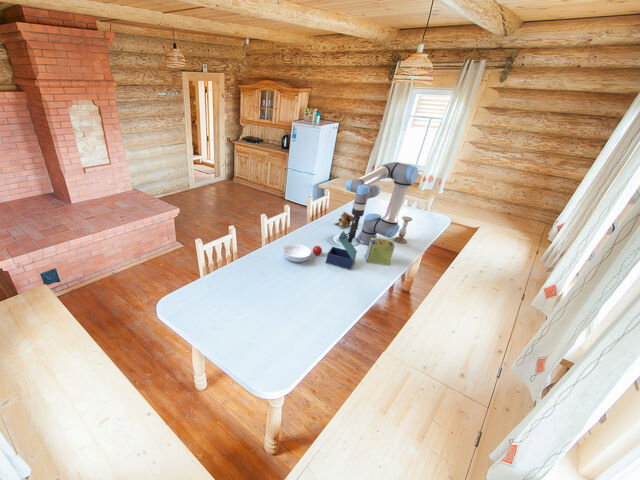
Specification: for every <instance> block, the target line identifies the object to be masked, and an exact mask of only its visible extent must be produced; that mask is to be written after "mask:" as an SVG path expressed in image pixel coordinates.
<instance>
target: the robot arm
mask: <svg viewBox="0 0 640 480" xmlns="http://www.w3.org/2000/svg"><path fill="white" fill-rule="evenodd" d="M418 177H419V169H418V167H417V166H414V165H412V164H406V163H401V162H398V161H393V162H388V163H384V164H382V165H379V166H378V167H377V169H375V170H373V171H371V172H369V173H367V174H365V175H363V176H361V177H359V178H357V179H355V180H354V179H348V180H347V181H346V183H345V190H346V191H348V192H350V193H354V194H355V196H354V201H353V202H352V205H353V206H352V210H351V215H352V216H353V220H352V221H351V225H350V229H349V231H348V233H349V234H348V235H349V236H348V242H350V243H352V244H353V239H355V238H356V240H357V242H358V243H360V244H363V245H366V246H368V245H369V242H370V238H377V237H378V235H380V236H382V237H385V238H387V239H391V238H393V237H395V235H397V233H399V231H400V225H399V220H398V217H399V215H400V211H401V209H402V207H403V206H402V205H403V203H404V200H405V198H406V197H405V196H406V194H407V191H408V188H410V187H411V186H412V185H414V184H415V183H416V181H417V180H418ZM385 179H392V180H393V184H394V187H393V190H392V192H391V193H392V194H391V197H390V200H389V203H388V206H387V208H386V212H385V215H384V216H383V217H382V215H381V214H378V213H367V214H366V215H365V217H364V219H363V222H362V228H361V231H360V233H359V234H358V235H357V237H356V234H357V231H358V230H359V228H358V227H359V224H360V223H359V222H360V219H361V217H363V216H364V214H365V210H366V206H367V202H368V200H369V199H372V198H375V197H378V196H379V195H380V193H381V188H380V186H379V185H377V184H375V183H376V182H378V181H381V180H385ZM377 234H378V235H377ZM377 239H378V238H377Z"/></svg>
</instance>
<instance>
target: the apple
mask: <svg viewBox="0 0 640 480" xmlns="http://www.w3.org/2000/svg"><path fill="white" fill-rule="evenodd" d="M311 252H312V253H313V255H315V256H320V255H322V252H323V249H322V247H321V246H320V245H315V246H314V247H313V248H312V251H311Z"/></svg>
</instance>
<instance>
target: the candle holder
mask: <svg viewBox="0 0 640 480" xmlns="http://www.w3.org/2000/svg"><path fill="white" fill-rule="evenodd" d="M401 220H403V222H402V227H401V228H399V230H398V236H396V237H394V241H395V242H396V243H398V244H399V243H400V244H405V243H406V241H407V240H406V238H405V236H406V234H407V226H408V225H409V222H412V221H413V218H412V217H410V216H405V215H404V216H402V217H401Z"/></svg>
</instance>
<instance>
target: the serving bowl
mask: <svg viewBox="0 0 640 480" xmlns="http://www.w3.org/2000/svg"><path fill="white" fill-rule="evenodd" d="M281 251H282V255H283V257H284V258H285V259H287V260H288V261H291V262H294V263H301V262H305V261H307V260H308V259H309V258H310V257H311V255H312V251H311V249H310V248H309V247H307V246H306V245H303V244H300V243H289V244H286V245H283V247H282V250H281Z"/></svg>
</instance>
